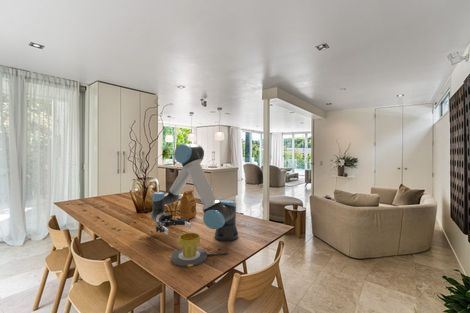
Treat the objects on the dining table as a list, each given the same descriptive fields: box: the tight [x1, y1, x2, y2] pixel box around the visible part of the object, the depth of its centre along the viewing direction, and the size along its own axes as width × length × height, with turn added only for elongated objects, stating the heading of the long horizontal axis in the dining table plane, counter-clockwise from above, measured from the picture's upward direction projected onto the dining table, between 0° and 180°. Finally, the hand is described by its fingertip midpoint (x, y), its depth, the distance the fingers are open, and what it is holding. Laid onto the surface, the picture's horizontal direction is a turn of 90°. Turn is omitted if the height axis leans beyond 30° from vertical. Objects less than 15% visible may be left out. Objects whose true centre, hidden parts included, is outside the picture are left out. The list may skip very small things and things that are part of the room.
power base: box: [170, 247, 229, 268], centre depth 119 cm, size 30×18×2 cm, turn 104°
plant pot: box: [178, 232, 201, 258], centre depth 117 cm, size 10×10×10 cm
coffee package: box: [179, 189, 197, 220], centre depth 184 cm, size 10×12×22 cm
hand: (179, 229), depth 126 cm, fingers open, 13 cm apart
